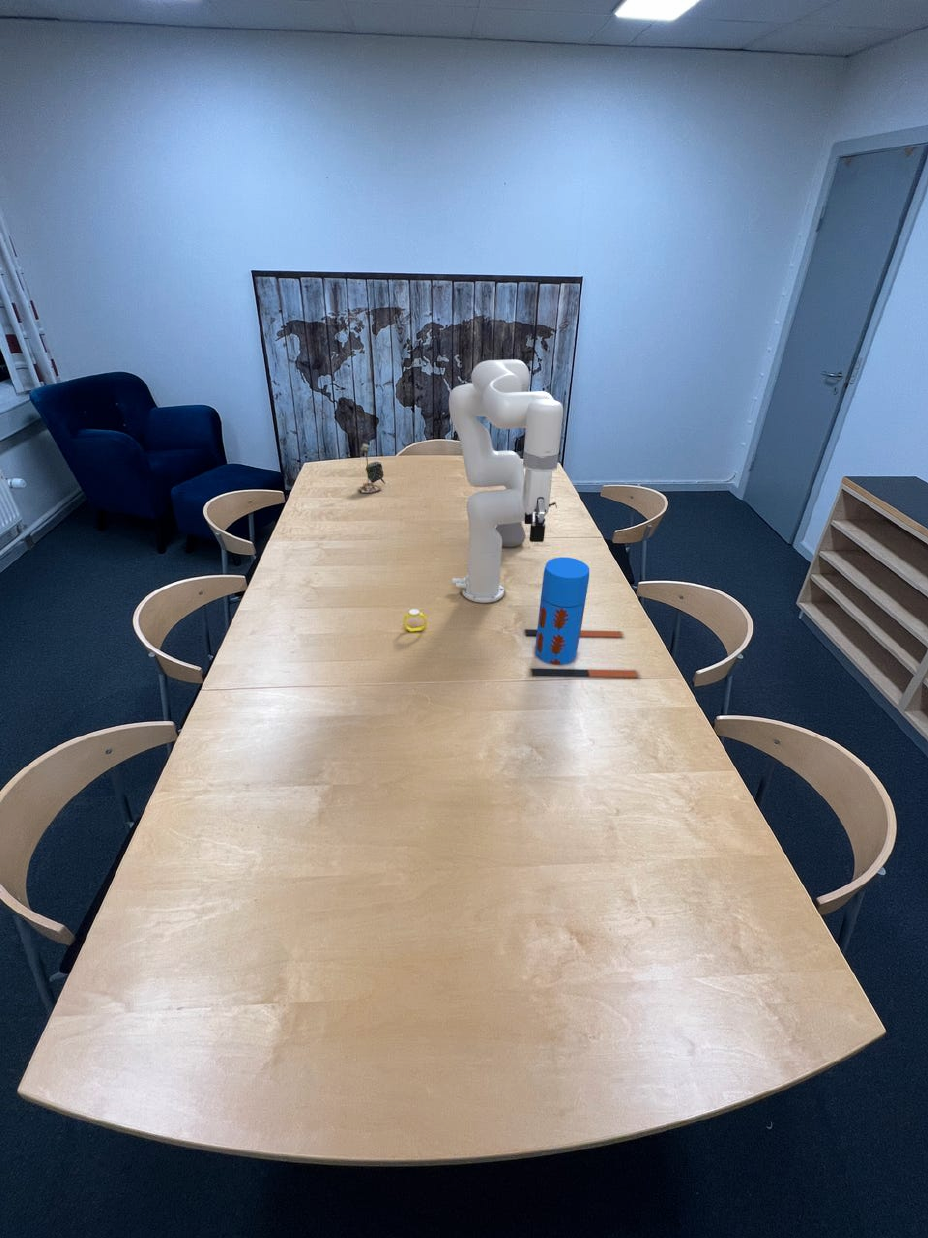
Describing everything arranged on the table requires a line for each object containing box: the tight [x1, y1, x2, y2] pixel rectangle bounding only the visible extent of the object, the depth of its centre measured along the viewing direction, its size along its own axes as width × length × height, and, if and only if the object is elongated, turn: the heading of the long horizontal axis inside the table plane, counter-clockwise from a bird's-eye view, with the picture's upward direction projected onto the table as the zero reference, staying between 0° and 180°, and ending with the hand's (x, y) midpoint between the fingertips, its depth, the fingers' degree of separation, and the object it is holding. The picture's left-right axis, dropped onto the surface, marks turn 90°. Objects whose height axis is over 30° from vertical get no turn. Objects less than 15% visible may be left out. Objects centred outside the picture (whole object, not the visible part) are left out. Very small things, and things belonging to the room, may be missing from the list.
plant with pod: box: [358, 443, 386, 494], centre depth 246 cm, size 8×11×20 cm
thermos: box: [535, 556, 590, 666], centre depth 152 cm, size 11×11×25 cm
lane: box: [525, 628, 639, 679], centre depth 159 cm, size 26×20×1 cm
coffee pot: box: [495, 501, 558, 549], centre depth 209 cm, size 21×12×15 cm, turn 95°
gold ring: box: [403, 608, 427, 632], centre depth 164 cm, size 6×3×6 cm, turn 96°
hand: (533, 532), depth 142 cm, fingers open, 9 cm apart
